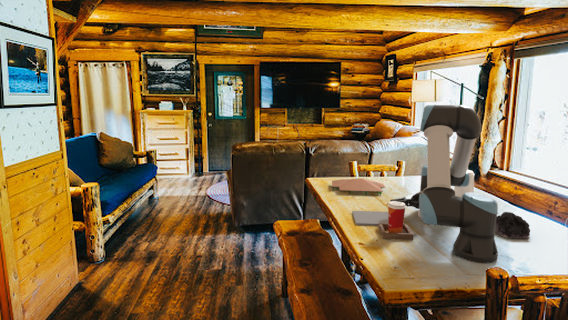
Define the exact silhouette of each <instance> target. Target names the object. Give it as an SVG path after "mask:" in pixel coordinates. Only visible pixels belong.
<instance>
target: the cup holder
mask: <svg viewBox="0 0 568 320" xmlns="http://www.w3.org/2000/svg"><path fill="white" fill-rule="evenodd" d="M377 227H378V230H379V233H380V235H381V237H382V239H383V240H398V241H399V240H400V241H401V240H402V241H404V240H405V241H413V240H414V232H413V231H412V229H410V227H409V225H408V223H403V229H402V231H404V232H402V233H389V231H388V232H387V231H386V230H388V223H379V225H378V226H377Z"/></svg>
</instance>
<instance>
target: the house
mask: <svg viewBox="0 0 568 320" xmlns="http://www.w3.org/2000/svg"><path fill="white" fill-rule="evenodd" d="M332 187H333V188H332ZM331 188H332V191H335V190H336V189H337V188H338V191H340V192H341V191H347V192H349V195H354V193H352V192H364V195H366V196H367V195H368V192H375V193H376V195H379V196H381V195H382V192H383V189H386V186H385V184H384V183H382V182H378V181H375V180H369V179H364V178H351V179H345V178H343V179H337V180H331ZM351 193H352V194H351Z"/></svg>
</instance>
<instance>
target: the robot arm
mask: <svg viewBox="0 0 568 320" xmlns="http://www.w3.org/2000/svg"><path fill="white" fill-rule="evenodd" d="M419 131H420V132H423V136H424V137H425V138H426V139H427V143H426V145H427V146H426V148H427V149H426V150H427V151H426V152H427V153H426V156H427V157H426V158H427V159H426V164H427V165H423V166H422V169H421V174H420V188H419V189H420V190H419V191H418V192H416V193H415V194H413V195H412V196H411V198H406V197H405V196H404V197H400V198H393V199H392V198H391V199H390V200H389V202H391V201H397V202H403V203H405V206H406V207H413V208H415V209H418V213H417V216H418V217H420V219H421V221H422V223H424V224H426V225H433V226H441V227H451V228H459V233H458V234H457V237H456V239H455V241H454V243H453V245H452V252H453V253H454V255H456V256H457V257H459V258H461V259H463V260H466V261H469V262H472V263H477V264H478V263H479V264H492V263H495V262H496V261H498V258H499V252H498V248H497V245H496V241H495V234H496V232H495V227H496V219H497V216H498V214H499V213H498V210H499V208H498V207H499V206H498V202H497V200H495V199H494V198H492V197H490V196H487V195H485V194H481V193H476V192H474V193H471V192H468V193H467V192H466V193H464V194H463V197H457V196H455V191H454V188H452V187H455V186H458V187H466V186H468V184H469V173H468V172H466V171H467V170H468V169H469V164H470V161H471V158H472V154H473V150H474V147H475V143H476V140H477V139H478V138H480V135H481V132H482V123H481V119H480V117H479V115H478V113H477V112H476V111H475V110H474V109H472V108H471V107H469V106H467V105H463V104H457V105H456V104H452V105H451V104H448V105H447V104H441V105H440V104H430V105H429V104H428V105H425V106H424V108H423V112H422V117H421V124H420V129H419ZM454 133H455V134H456V141H455V145H454V149H453V153H452V157H451V154H450V153H451V151H450V150H451V147H450V138H451V137H452V136H453V134H454ZM467 168H468V169H467Z"/></svg>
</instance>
